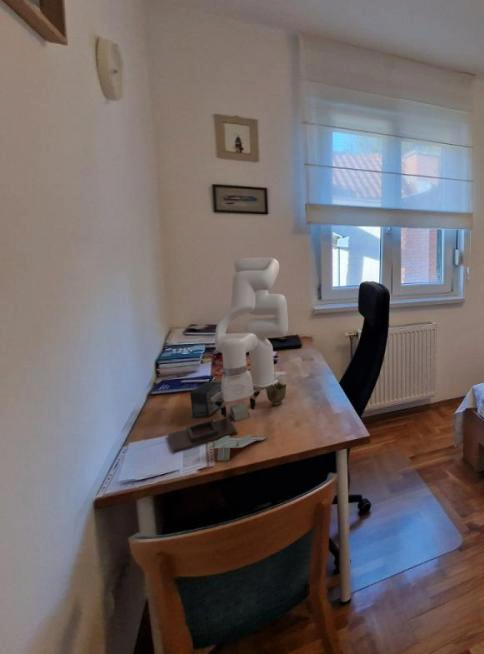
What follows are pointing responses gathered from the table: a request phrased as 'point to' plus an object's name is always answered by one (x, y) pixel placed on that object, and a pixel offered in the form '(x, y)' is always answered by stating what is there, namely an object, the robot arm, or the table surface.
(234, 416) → the gray rectangular block
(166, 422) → the table surface
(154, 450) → the table surface
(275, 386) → the cup
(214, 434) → the mounting board
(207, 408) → the small box
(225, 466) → the table surface
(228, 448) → the metal bracket
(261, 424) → the table surface
